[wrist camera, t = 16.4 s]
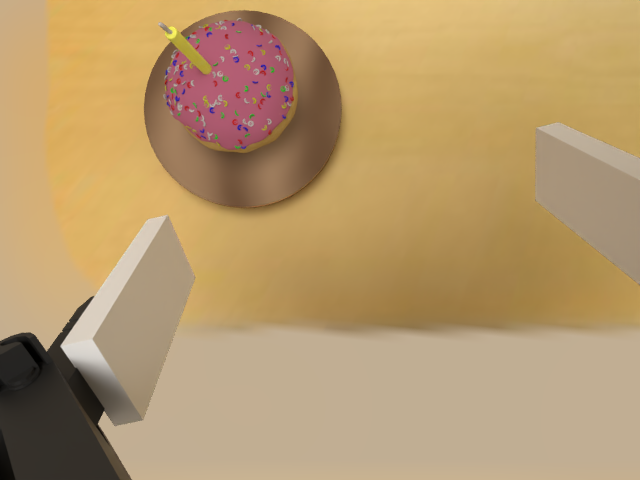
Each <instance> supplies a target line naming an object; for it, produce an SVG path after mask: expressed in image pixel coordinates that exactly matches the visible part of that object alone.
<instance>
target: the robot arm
mask: <svg viewBox="0 0 640 480" xmlns="http://www.w3.org/2000/svg"><path fill="white" fill-rule="evenodd" d="M535 201H537V202H538V203H539V204H540V205H541V206H543V207H544V208H545V209H546V210H548V211H549V212H550V213H551V214H553V215H554V216H555V217H556V218H558V219H559V220H560V221H561V222H562V223H564V224H565V225H566V226H567V227H569V228H570V229H571V230H572V231H574V232H575V233H576V234H577V235H579V236H580V237H581V238H582V239H583V240H585V241H586V242H587V243H588V244H590V245H591V246H592V247H593V248H595V249H596V250H597V251H598V252H600V253H601V254H602V255H603V256H604V257H606V258H607V259H608V260H609V261H611V262H612V263H613V264H614V265H616V266H617V267H618V268H619V269H621V270H622V271H623V272H624V273H626V274H627V275H628V276H629V277H630V278H632V279H633V280H634V281H635V282H637V283H638V284H639V285H640V158H638V157H636V156H634V155H632V154H629V153H627V152H625V151H622V150H620V149H618V148H616V147H613V146H611V145H609V144H607V143H604V142H602V141H600V140H598V139H595V138H593V137H591V136H588V135H586V134H584V133H582V132H579V131H577V130H575V129H573V128H570V127H568V126H566V125H564V124H561V123H559V122H558V123H554V124H549V125H545V126H541V127H537V128H536V180H535ZM194 280H195V275H194V273H193V271H192V268H191V266H190V264H189V262H188V259H187V257H186V255H185V253H184V250H183V248H182V246H181V243H180V241H179V239H178V237H177V234H176V232H175V230H174V228H173V225H172V223H171V221H170V219H169V216H168V215H165V216H161V217H156V218H152V219H148V220H147V221H146V223H145V224H144V225H143V227H142V228H141V230H140V231H139V233H138V234H137V236H136V237H135V239H134V240H133V241H132V243H131V244H130V246H129V247H128V249H127V250H126V252H125V253H124V254H123V256H122V257H121V259H120V260H119V262H118V263H117V265H116V266H115V267H114V269H113V270H112V272H111V273H110V275H109V276H108V278H107V279H106V281H105V282H104V283H103V285H102V286H101V288H100V289H99V291H98V292H97V294H96V295H95V296H92V297H91V298H89V299H88V300H87V301H86V302H85V303H84V304H83V305H81V306H80V307H79V308H78V309H77V310H76V312H75V313H74V315H73V316H72V317H71V319H70V320H69V321H70V322H69V323H67V324H66V326H65V327H64V328H63V330H62V331H63V332H61V333H60V334H59V335H58V337H57V338H56V339H55V341H54V342H53V344H52V345H51V346H50V348H49V349H48V351H47V352H46V350H45V349H44V347H43V346H42V345H41V343H40V342H39V340H38V339H37V337H36V336H35V335H34V334H32V333H20V334H16V335H13V336H10V337H8V338H6V339H4V340H2V341H0V480H132V479H131V478H130V476H129V474H128V473H127V471H126V469H125V468H124V466H123V464H122V463H121V461H120V459H119V458H118V456H117V454H116V452H115V451H114V449H113V447H112V446H111V444H110V442H109V441H108V439H107V437H106V436H105V434H104V432H103V431H102V430H101V428H100V427H99V425H98V422H99V420H100V418H101V416H102V414H103V412H104V411H105V412H106V414H107V416H108V417H109V418H110V420H111V421H112V423H113V424H114V426H117V425H122V424H127V423H132V422H136V421H142V420H143V419H144V416H145V414H146V411H147V408H148V406H149V402H150V400H151V397H152V395H153V392H154V389H155V386H156V384H157V381H158V378H159V375H160V372H161V370H162V367H163V365H164V362H165V359H166V356H167V353H168V351H169V348H170V345H171V343H172V340H173V337H174V335H175V332H176V329H177V326H178V324H179V321H180V318H181V315H182V313H183V310H184V307H185V305H186V302H187V299H188V296H189V294H190V291H191V288H192V285H193V283H194Z"/></svg>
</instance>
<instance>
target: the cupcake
mask: <svg viewBox="0 0 640 480" xmlns="http://www.w3.org/2000/svg"><path fill="white" fill-rule="evenodd" d="M239 19H240V20H241V21H240V20H239ZM238 20H239V21H238ZM158 25H159V26H160V27H162V28H163V29H164V30H165V35H166V37H167V38H168V39H169V40H170V41H171V42H172V43H173V44H174V45H175V46H176V47H177V48H178V49H177V50H175V51H174V52H175V53H174V52H173V55H172V56H171V57H172V60H171V62H170V66H169V67H168V69H167V70H166V76H165V80H166V81H165V85H166V86H165V93H166V94H164V95H163V96H164V99H165V100H167V105H168V107H169V110H170V112H171V114H172V116H173V117H174V118H175V119H176V120H178V121H180V122H181V124H182V125H183V127H184V128H185V129H186V130H187V132H188V133H189V134H190V135H192V136H193V137H194V138H195V139H197V140H198V141H199V142H200V143H201V144H203V145H204V146H206V147H208V148H210V149H213V150H218V151H225V152H238V153H247V152H250V151H253V150H255V149H257V148H260V147H262V146H264V145H267V144H269V143H271V142H273V141H275V140H276V139H277V138H278V137H279V136H280V135H281V133H282V132H283V131H284V129H285V128H286V127H287V125H288V124H289V123H290V122H291V120H292V118H293V117H294V114H295V111H296V106H297V101H298V87H297V81H296V76H295V72H294V68H293V64H292V61H291V58H290V55H289V53H288V51H287V49H286V48H285V46H284V45H283V43H282V42H281V41H280V40H279V39H278V38H277V37H276V36H275V35H273V34H271V33H270V32H269V31H268V30H267V29H265V30H264V29H262V28H261V25H253V24H250V23H247V22H244V21H242V19H241V18H238V19H237V21H235V20H231V21H228V20H224V21H220V22H215V23H212V24H209V25H208V24H205V25H204V26H199V28H200V29H198V30H196V31H195V32H193V33H192V34H191V35H190V36H187V37H186V38H184V37H183V36H182V34H181V33H180V32H179V31H178V30H177V29H176V28H175V27H168V28H167V27H166V25H164V24H163V23H161V22H159V23H158ZM258 26H259V27H258ZM167 72H168V73H167Z"/></svg>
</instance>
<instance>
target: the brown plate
mask: <svg viewBox="0 0 640 480" xmlns="http://www.w3.org/2000/svg"><path fill="white" fill-rule="evenodd" d="M238 18H241V19H242V21H244V22H247V23H250V24H253V25H261V28H262V29H264V30H265V29H267V30H268V31H269V32H270V33H271V34H273V35H275V36H276V37H277V38H278V39H279V40H280V41H281V42H282V43H283V45H284V46H285V48H286V49H287V51H288V53H289V55H290V58H291V61H292V64H293V68H294V72H295V76H296V81H297V87H298V101H297V106H296V111H295V114H294V117H293V118H292V120H291V122H290V123H289V124H288V125H287V127H286V128H285V129H284V131H283V132H282V133H281V135H280V136H279V137H278V138H277V139H276V140H275V141H273V142H271V143H269V144H267V145H264V146H262V147H260V148H257V149H255V150H253V151H250V152H247V153H238V152H225V151H218V150H213V149H210V148H208V147H206V146H204V145H203V144H201V143H200V142H199V141H198V140H197V139H195V138H194V137H193V136H192V135H190V134H189V133H188V132H187V130H186V129H185V128H184V127H183V125H182V124H181V122H180V121H178V120H176V119H175V118H174V117H173V116H172V114H171V112H170V110H169V107H168V105H167V100H165V99H164V96H163V95H164V94H166V93H165V86H166V85H165V81H166V80H165V76H166V70H167V69H168V67H169V66H170V62H171V60H172V57H171V56H172V55H173V52H174V51H175V50H177V49H178V48H177V47H176V46H175V45H174V44H173V43H172V42H170V43H169V44H168V46H167V47H166V48H165V49H164V51H163V52H162V53H161V55H160V56H159V58H158V60H157V61H156V63H155V65H154V67H153V69H152V72H151V75H150V77H149V80H148V84H147V88H146V93H145V102H144V116H145V124H146V130H147V134H148V137H149V140H150V143H151V146H152V148H153V150H154V152H155V154H156V156H157V158H158V160H159V161H160V163H161V164H162V166H163V167H164V168H165V170H166V171H167V172H168V173H169V174H170V175H171V177H172V178H174V179H175V180H176V181H177V182H178V183H179V184H180V185H181V186H183V187H184V188H186V189H187V190H189V191H190V192H192V193H193V194H195V195H197V196H199V197H201V198H203V199H205V200H208V201H211V202H214V203H217V204H220V205H224V206H229V207H239V208H250V207H260V206H265V205H270V204H273V203H276V202H279V201H282V200H284V199H286V198H288V197H290V196H292V195H294V194H295V193H297V192H298V191H300V190H301V189H303V188H304V187H305V186H306V185H307V184H309V183H310V182H311V181H312V180H313V179H314V178H315V177H316V176H317V174H318V173H319V172H320V171H321V170H322V168H323V167H324V165H325V164H326V162H327V161H328V159H329V157H330V155H331V153H332V151H333V149H334V146H335V143H336V140H337V137H338V132H339V127H340V122H341V95H340V90H339V85H338V81H337V78H336V75H335V72H334V70H333V68H332V66H331V64H330V62H329V60H328V58H327V57H326V55H325V54H324V52H323V51H322V49H321V48H320V47H319V46H318V45H317V43H316V42H315V41H314V40H313V39H312V38H311V37H310V36H309V35H307V34H306V33H305V32H304V31H303V30H301V29H300V28H298V27H297V26H295V25H294V24H292V23H290V22H288V21H286V20H284V19H282V18H280V17H277V16H274V15H271V14H267V13H262V12H258V11H245V10H242V11H229V12H224V13H218V14H215V15H212V16H209V17H206V18H204V19H202V20H200V21H198V22H196V23H194V24H192V25H191V26H189V27H188V28H186V29H185V30H183V31H182V32H181V34H182V36H183V37H184V38H186V37H187V36H190V35H191V34H192V33H193V32H195V31H196V30H198V29H200V28H199V26H204V25H205V24H208V25H209V24H212V23H215V22H220V21H224V20H228V21H231V20H235V21H237V19H238ZM239 20H240V19H239ZM239 20H238V21H239ZM240 21H241V20H240ZM258 27H259V26H258ZM174 53H175V52H174ZM167 73H168V72H167Z"/></svg>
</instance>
